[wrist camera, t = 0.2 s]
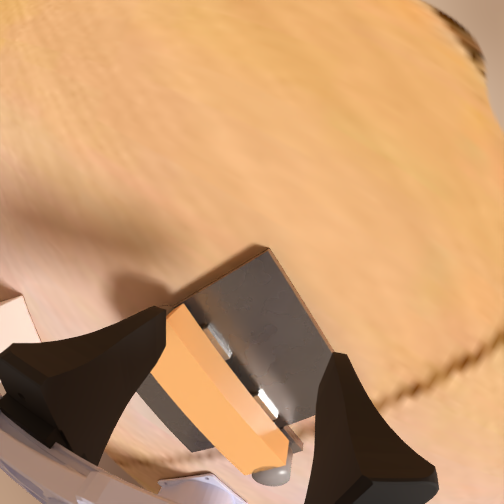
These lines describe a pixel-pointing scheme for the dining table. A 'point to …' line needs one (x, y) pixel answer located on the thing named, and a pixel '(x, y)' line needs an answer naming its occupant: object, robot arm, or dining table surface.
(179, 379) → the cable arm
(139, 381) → the robot arm
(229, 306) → the server tray
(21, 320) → the milk carton
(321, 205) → the dining table surface
